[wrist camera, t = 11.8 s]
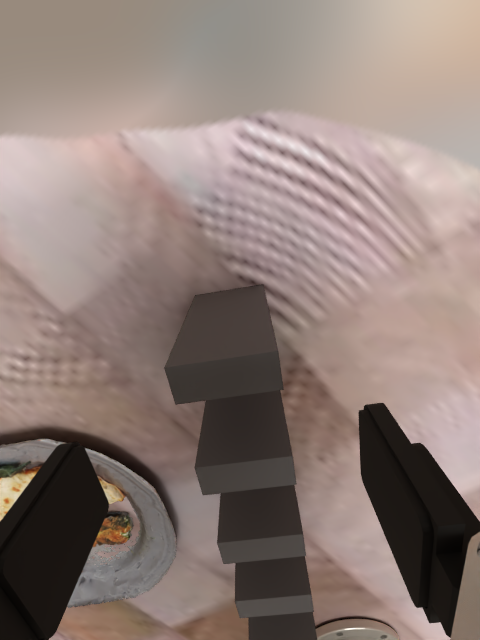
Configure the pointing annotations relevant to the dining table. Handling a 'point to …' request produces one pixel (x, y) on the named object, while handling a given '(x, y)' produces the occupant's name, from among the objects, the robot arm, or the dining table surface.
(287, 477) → the domino
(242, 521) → the domino
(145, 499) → the food plate
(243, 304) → the domino
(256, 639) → the domino
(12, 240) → the dining table surface
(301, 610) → the domino
